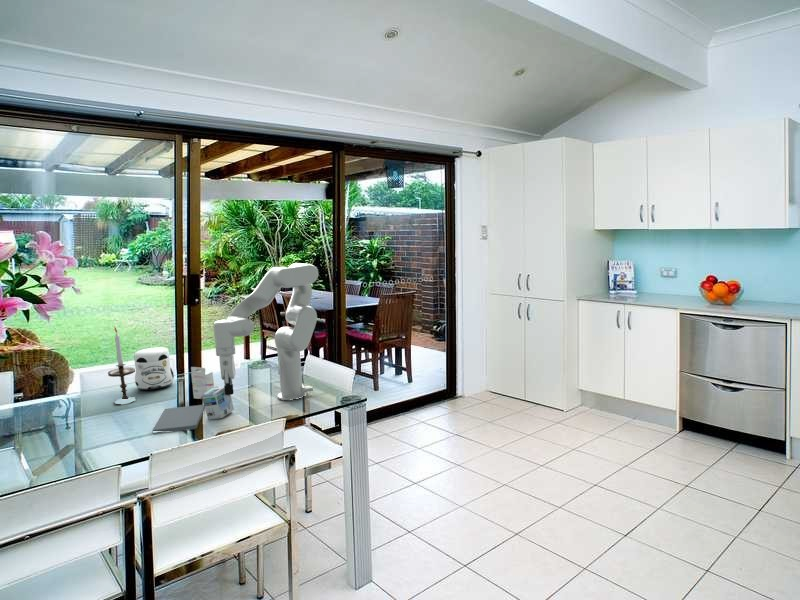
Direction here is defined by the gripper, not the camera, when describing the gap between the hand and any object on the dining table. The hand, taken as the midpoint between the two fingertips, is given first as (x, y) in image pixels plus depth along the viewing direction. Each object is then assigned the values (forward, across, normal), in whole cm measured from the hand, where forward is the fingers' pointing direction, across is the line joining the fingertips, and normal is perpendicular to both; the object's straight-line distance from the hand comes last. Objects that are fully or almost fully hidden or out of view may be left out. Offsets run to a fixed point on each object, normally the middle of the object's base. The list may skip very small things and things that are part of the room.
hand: (229, 394), depth 231 cm
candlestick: (+9, +34, +49) cm, 60 cm away
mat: (+9, 0, +20) cm, 22 cm away
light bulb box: (+9, 0, +4) cm, 9 cm away
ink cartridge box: (+9, +27, +14) cm, 32 cm away
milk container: (+9, +52, +40) cm, 66 cm away
